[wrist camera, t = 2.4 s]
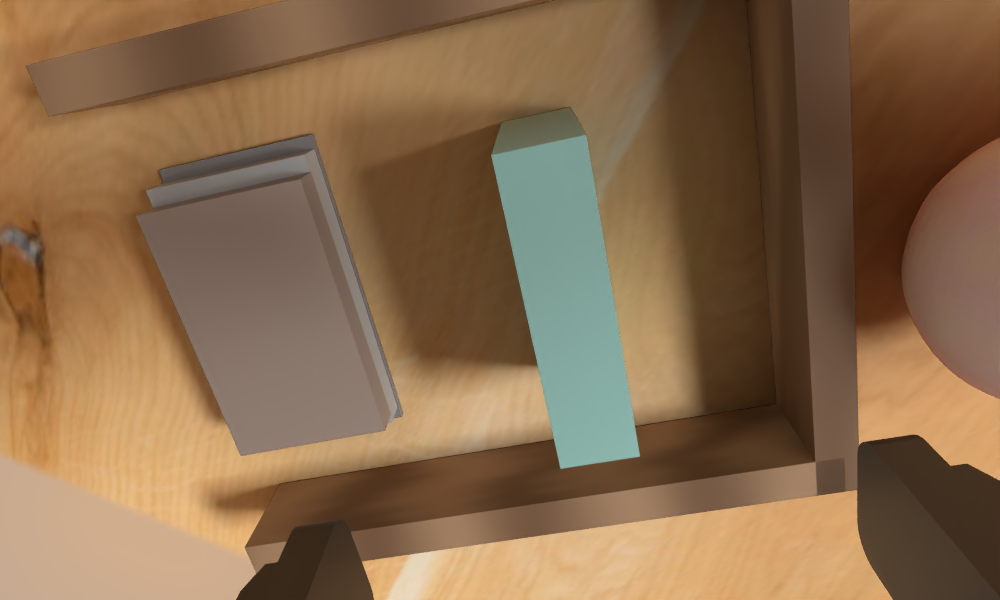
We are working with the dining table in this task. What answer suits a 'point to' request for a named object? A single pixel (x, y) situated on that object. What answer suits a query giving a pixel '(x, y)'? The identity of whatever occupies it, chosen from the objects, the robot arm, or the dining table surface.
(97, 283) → the dining table surface
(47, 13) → the dining table surface
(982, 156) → the decorative fruit
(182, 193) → the middle offcut
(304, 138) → the bottom offcut
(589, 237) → the teal panel
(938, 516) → the robot arm
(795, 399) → the walnut frame
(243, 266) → the top offcut
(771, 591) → the dining table surface
